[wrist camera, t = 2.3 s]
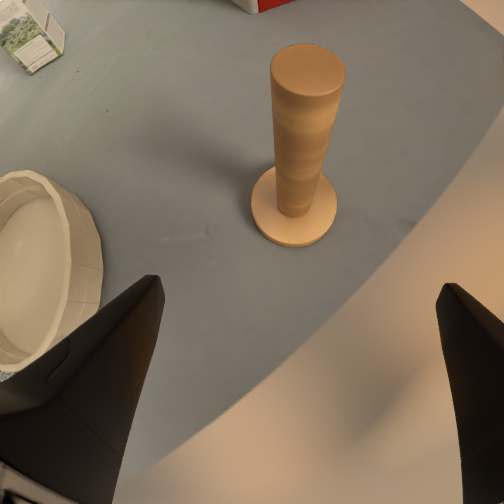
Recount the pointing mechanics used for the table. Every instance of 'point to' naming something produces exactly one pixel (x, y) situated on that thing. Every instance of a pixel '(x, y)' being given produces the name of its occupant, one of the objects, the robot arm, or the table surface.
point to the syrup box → (30, 33)
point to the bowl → (44, 267)
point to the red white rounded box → (259, 5)
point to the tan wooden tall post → (300, 146)
